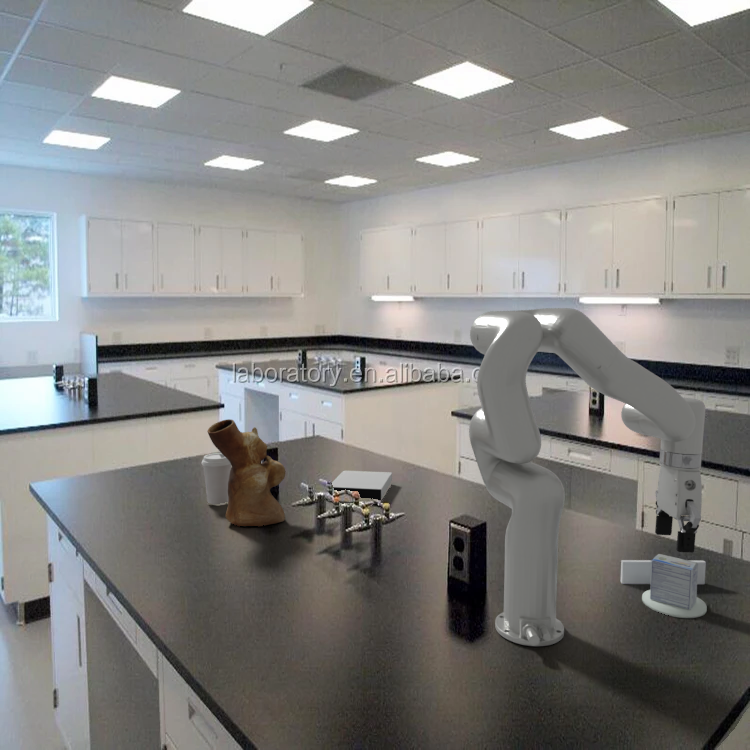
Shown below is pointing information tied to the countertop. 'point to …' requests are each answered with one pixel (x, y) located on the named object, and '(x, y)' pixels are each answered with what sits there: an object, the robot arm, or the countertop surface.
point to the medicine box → (674, 581)
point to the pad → (674, 607)
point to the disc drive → (364, 483)
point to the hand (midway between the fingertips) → (673, 542)
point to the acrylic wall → (649, 571)
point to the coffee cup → (216, 477)
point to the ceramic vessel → (248, 476)
